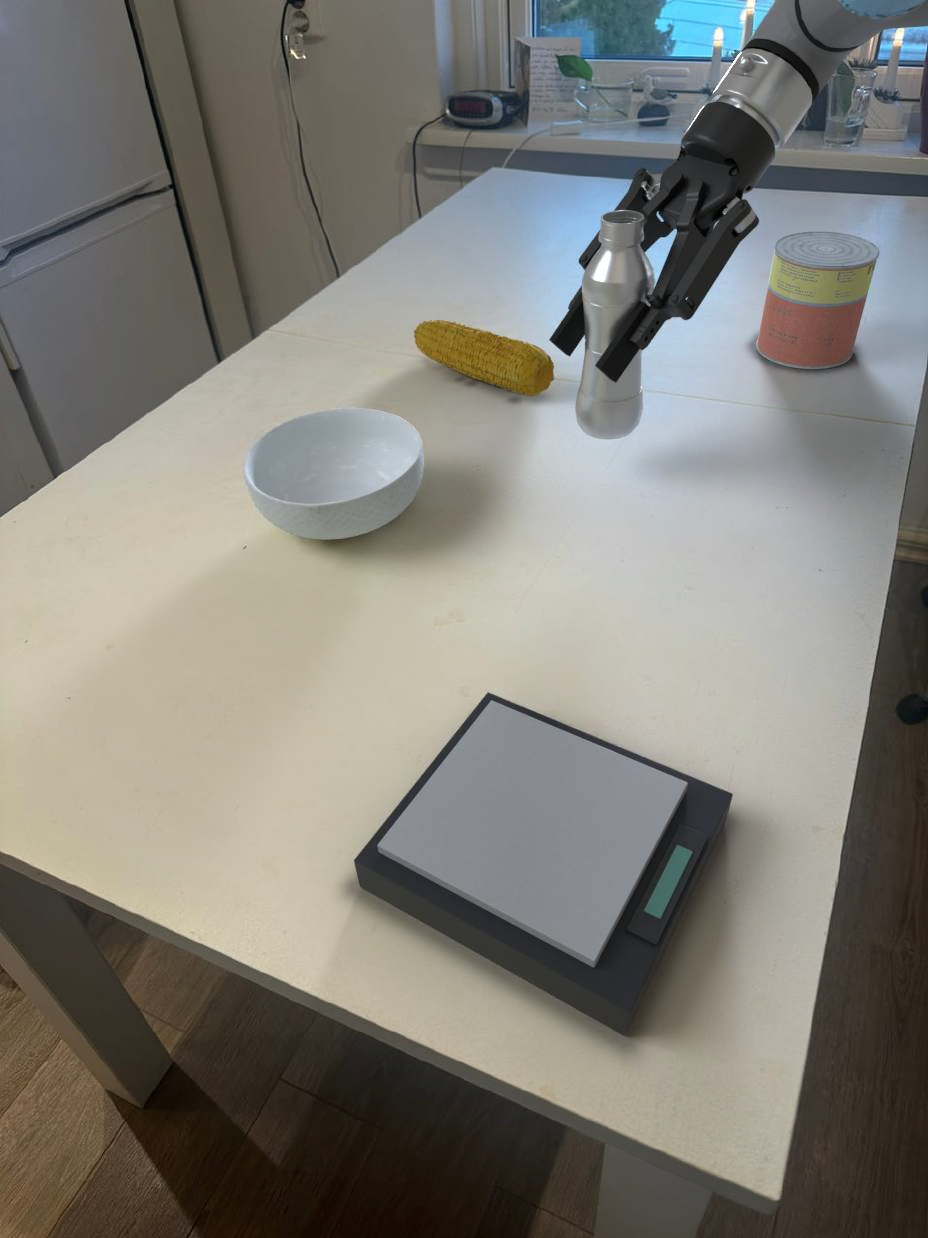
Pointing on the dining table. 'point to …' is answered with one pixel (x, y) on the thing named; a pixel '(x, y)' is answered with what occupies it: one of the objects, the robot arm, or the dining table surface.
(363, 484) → the cereal bowl
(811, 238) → the canned food
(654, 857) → the scale
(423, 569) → the dining table surface
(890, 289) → the dining table surface
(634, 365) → the silver aluminium bottle
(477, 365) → the food
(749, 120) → the robot arm
